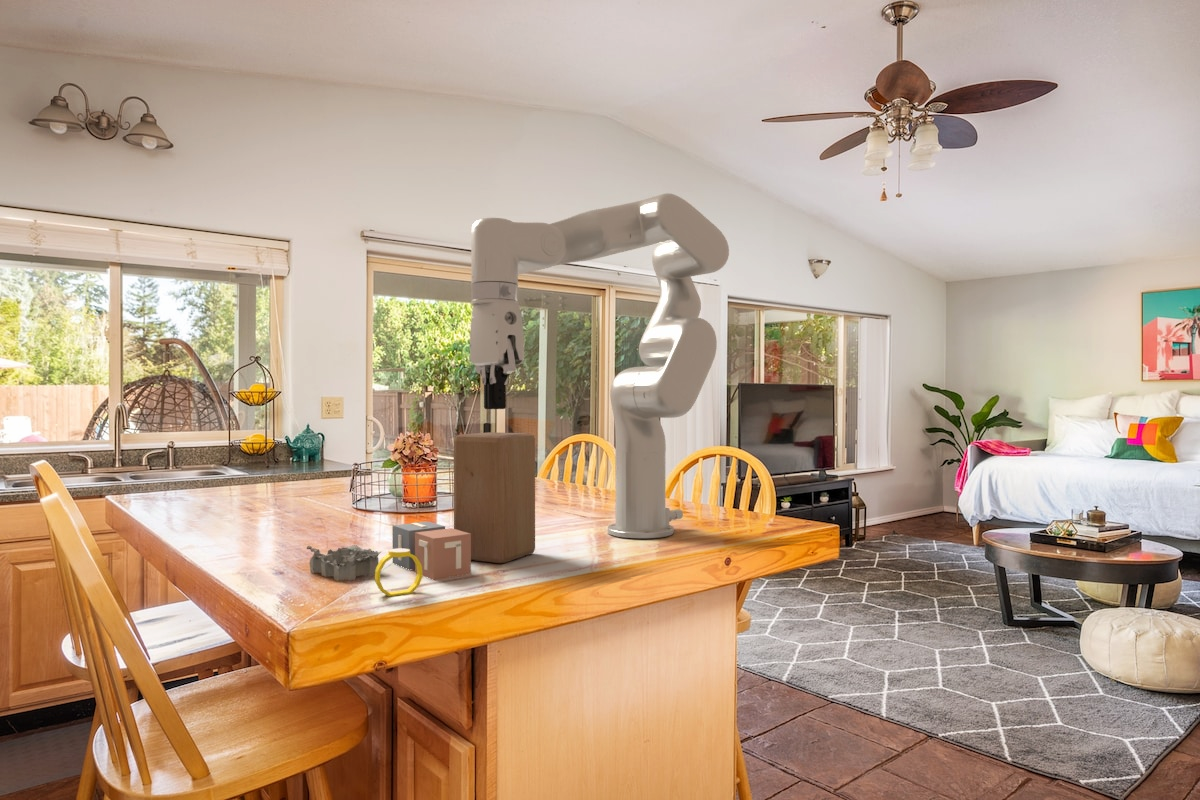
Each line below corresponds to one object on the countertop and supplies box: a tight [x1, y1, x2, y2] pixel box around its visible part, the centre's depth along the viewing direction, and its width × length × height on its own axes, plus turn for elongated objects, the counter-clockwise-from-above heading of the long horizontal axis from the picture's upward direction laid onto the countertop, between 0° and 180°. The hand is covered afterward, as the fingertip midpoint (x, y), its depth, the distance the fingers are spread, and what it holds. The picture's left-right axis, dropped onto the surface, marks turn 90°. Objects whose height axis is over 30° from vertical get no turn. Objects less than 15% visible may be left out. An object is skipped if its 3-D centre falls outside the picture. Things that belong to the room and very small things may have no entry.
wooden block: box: [453, 431, 536, 564], centre depth 122 cm, size 10×10×20 cm
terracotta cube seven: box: [414, 527, 472, 581], centre depth 111 cm, size 6×6×6 cm
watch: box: [374, 548, 423, 597], centre depth 99 cm, size 6×3×6 cm, turn 121°
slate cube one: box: [392, 521, 446, 571], centre depth 117 cm, size 6×6×6 cm
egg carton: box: [306, 544, 383, 581], centre depth 112 cm, size 11×8×4 cm
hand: (495, 408), depth 122 cm, fingers closed
